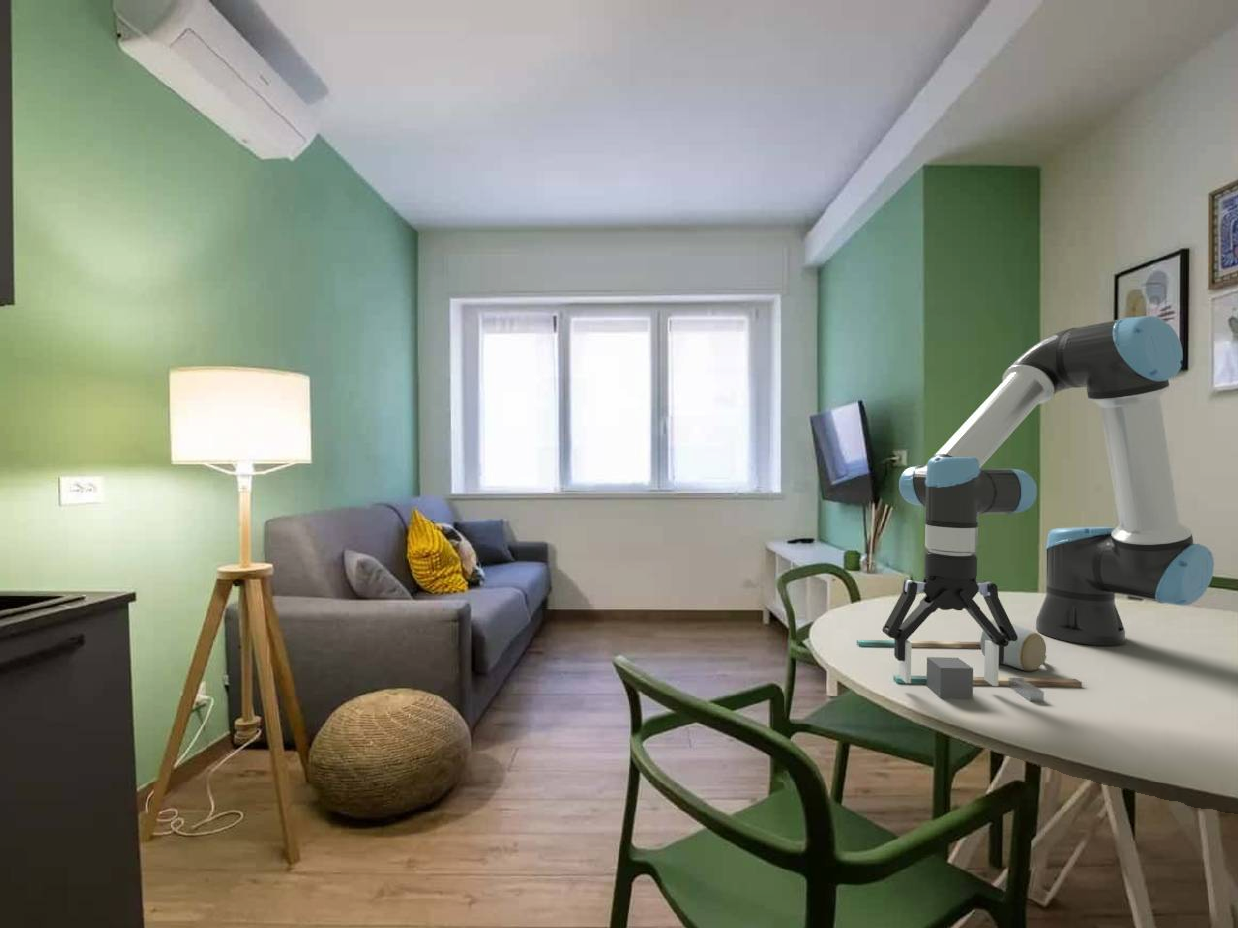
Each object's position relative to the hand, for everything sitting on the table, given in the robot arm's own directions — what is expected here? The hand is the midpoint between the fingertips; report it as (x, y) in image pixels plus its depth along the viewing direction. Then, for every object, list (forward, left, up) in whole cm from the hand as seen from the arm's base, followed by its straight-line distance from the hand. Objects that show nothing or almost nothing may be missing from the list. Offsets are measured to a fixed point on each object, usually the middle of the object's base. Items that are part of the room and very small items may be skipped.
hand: (947, 681), depth 100 cm
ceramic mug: (-19, -15, -2) cm, 24 cm away
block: (0, 0, -2) cm, 2 cm away
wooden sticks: (-8, -14, -2) cm, 16 cm away
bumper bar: (-12, 0, -2) cm, 12 cm away
